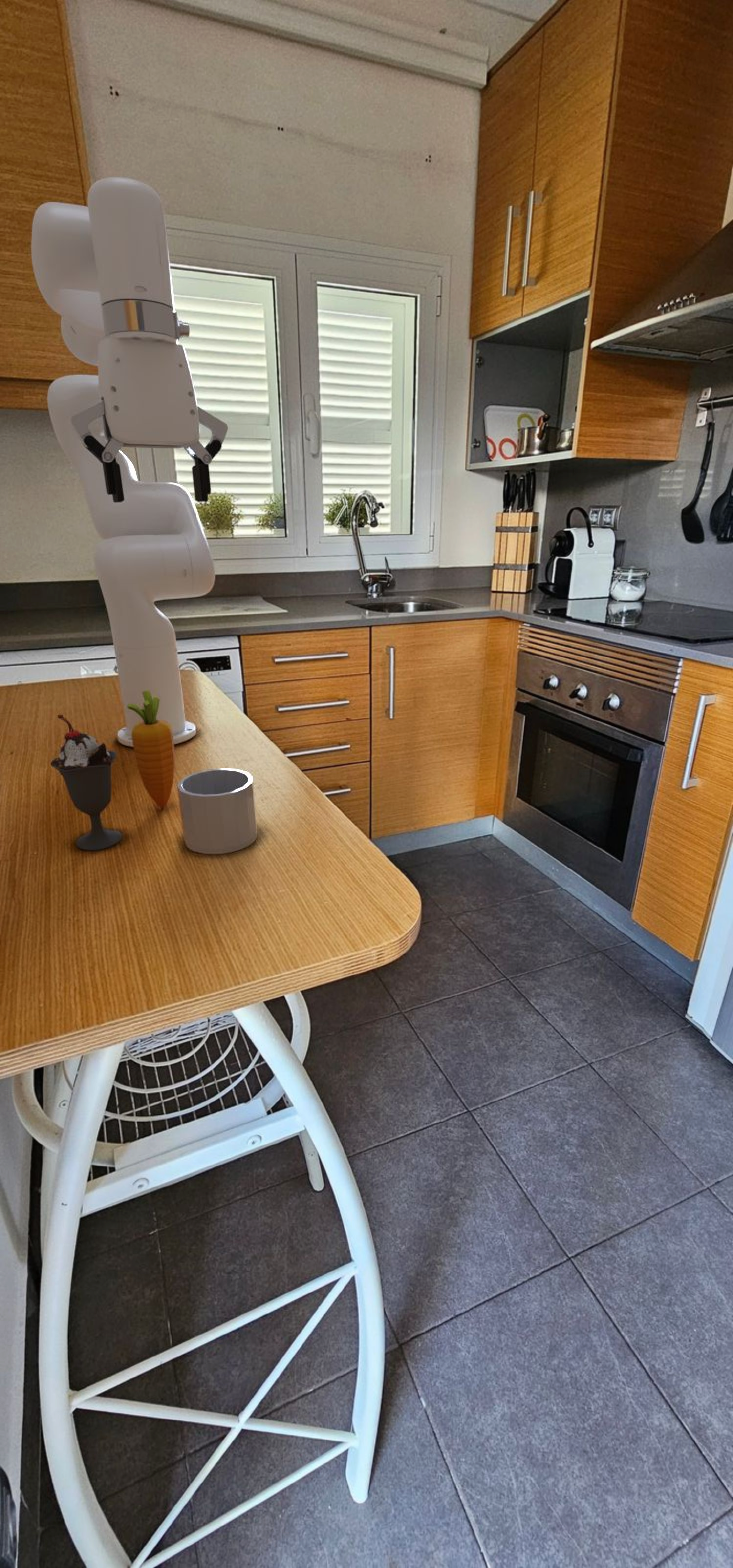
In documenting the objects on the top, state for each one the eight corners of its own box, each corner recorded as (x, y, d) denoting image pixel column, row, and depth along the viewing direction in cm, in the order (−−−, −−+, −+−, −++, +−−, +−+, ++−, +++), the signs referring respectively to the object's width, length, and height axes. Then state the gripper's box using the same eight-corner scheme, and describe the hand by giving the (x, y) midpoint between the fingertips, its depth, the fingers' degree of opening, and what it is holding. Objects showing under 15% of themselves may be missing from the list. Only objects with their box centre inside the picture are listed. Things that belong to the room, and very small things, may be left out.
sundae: (66, 834, 79) (42, 711, 74) (126, 824, 82) (107, 703, 76) (68, 859, 74) (41, 727, 68) (132, 847, 76) (111, 719, 71)
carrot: (171, 817, 84) (155, 699, 78) (134, 814, 84) (116, 697, 79) (189, 801, 88) (175, 688, 82) (154, 798, 89) (138, 687, 83)
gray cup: (177, 831, 80) (169, 776, 77) (243, 817, 83) (239, 763, 81) (195, 861, 73) (188, 801, 70) (267, 843, 77) (263, 786, 74)
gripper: (209, 345, 80) (223, 502, 86) (50, 330, 72) (78, 503, 79) (229, 330, 74) (242, 500, 80) (58, 312, 66) (88, 501, 73)
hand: (161, 501), depth 79 cm, fingers open, 9 cm apart
